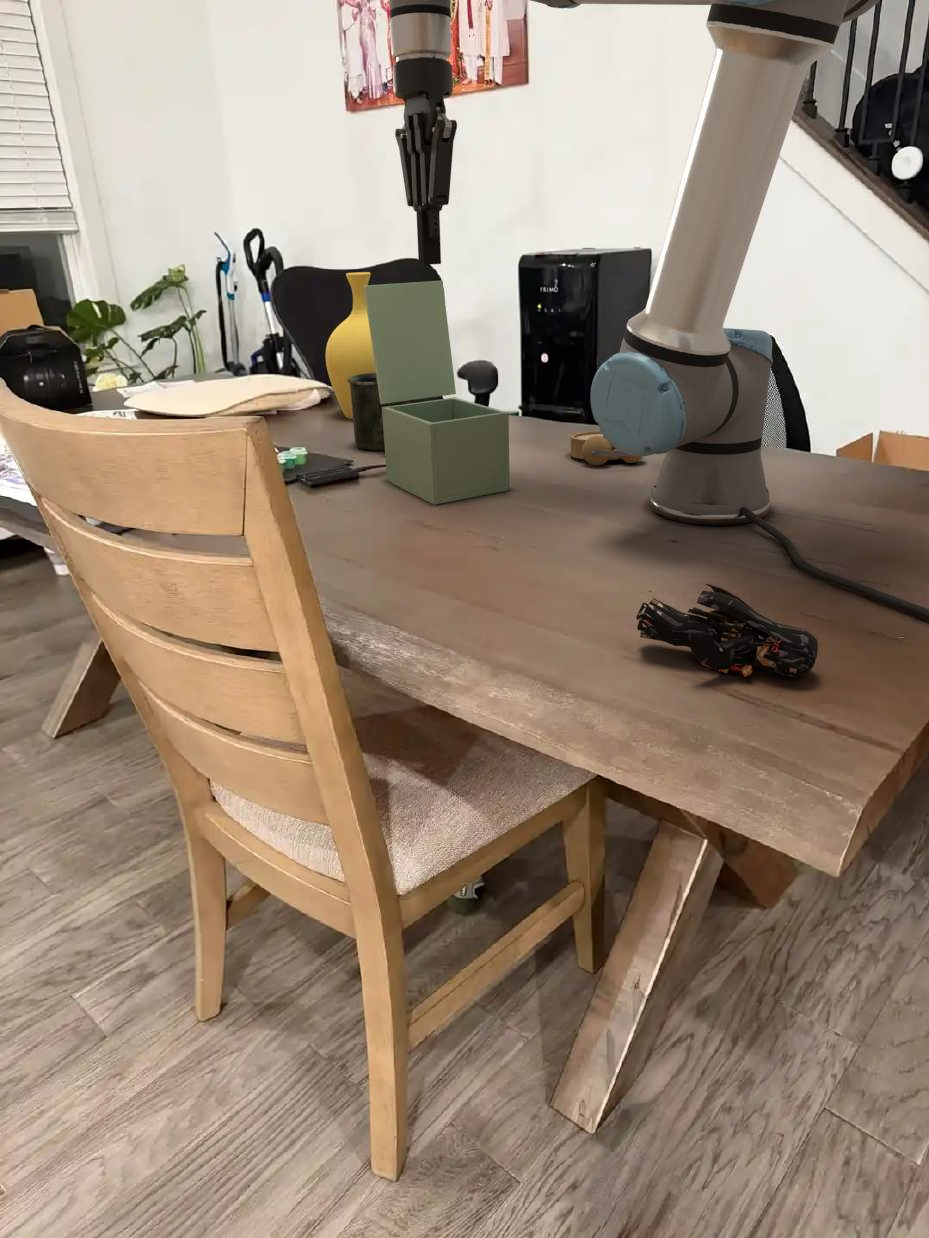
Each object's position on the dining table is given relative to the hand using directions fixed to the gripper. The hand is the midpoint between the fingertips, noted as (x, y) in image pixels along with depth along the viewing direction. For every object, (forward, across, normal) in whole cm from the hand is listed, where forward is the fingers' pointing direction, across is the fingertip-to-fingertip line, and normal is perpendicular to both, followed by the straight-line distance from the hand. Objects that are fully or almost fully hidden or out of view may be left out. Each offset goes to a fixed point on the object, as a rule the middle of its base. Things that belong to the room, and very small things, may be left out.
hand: (429, 264), depth 116 cm
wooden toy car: (+31, -4, -29) cm, 43 cm away
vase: (+32, +56, -14) cm, 65 cm away
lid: (+11, +7, 0) cm, 13 cm away
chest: (+31, -2, 0) cm, 31 cm away
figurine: (+30, -66, +8) cm, 73 cm away
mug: (+31, +27, -3) cm, 41 cm away
